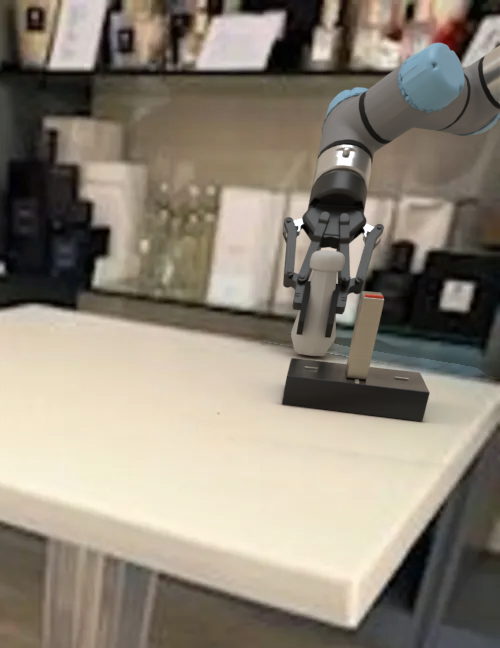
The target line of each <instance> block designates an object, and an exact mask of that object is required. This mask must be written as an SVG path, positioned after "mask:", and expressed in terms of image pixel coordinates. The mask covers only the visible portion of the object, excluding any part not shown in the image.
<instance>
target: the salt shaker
mask: <svg viewBox="0 0 500 648" xmlns="http://www.w3.org/2000/svg"><path fill="white" fill-rule="evenodd" d="M344 263H345V257H344V255H343V254H342V253H340V252H336V250H330V249H329V250H328V249H324V250H322V249H321V250H320V251H315V252H314V253H313V254H312V256H311V259H310V268H312V269H313V270H312V273H311V275H310V278H309V281H311V284H310V285H311V288H310V294H309V300H308V305H307V311H306V316H305V322H304V327H303V333H302V335H297V334H296V333H297V327H298V321H299V316H300V310H298V312H297V314H296V318H295V320H294V323H293V326H292V329H291V333H290V337H291V341H292V346H293V350H294V352H295V353H297V354H299V355H304V356H311V357H324V356H325V355H326V353H327V352H328V351H329V349H330V348H331V346H333V344H334V343H335V341H336V338H337V337H336V336H337V333H336V332H337V314H335V319H334V325H333V329H332V334H331V338H326V337H325V332H326V327H327V322H328V316H329V311H330V305H331V300H332V295H333V291H334V290H335V288H336V284H337V282H338V278H337V272H338V271H341V270H342V269H343V267H344Z"/></svg>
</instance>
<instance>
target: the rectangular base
mask: <svg viewBox="0 0 500 648" xmlns="http://www.w3.org/2000/svg"><path fill="white" fill-rule="evenodd" d="M346 365H347V363H340V362H332V361H321V360H313V359H305V358H304V359H303V358H295V357H291V358H290V361H289V365H288V369H287V374H286V378H285V383H284V388H283V395H282V400H281V404H282V405H284V406H285V405H286V406H293V407H301V408H309V409H317V410H324V411H325V410H326V411H333V412H341V413H350V414H357V415H365V416H374V417H380V418H381V417H382V418H388V419H389V418H390V419H396V420H398V419H399V420H406V421H412V422H423V420H424V417H425V413H426V410H427V409H426V408H427V405H428V402H429V397H430V393H431V392H430V390H429V388H428V386H427V384H426V382H425V380H424V378H423V375H422V374H421V372H418V371H410V370H401V369H394V368H393V369H392V368H384V367H374V366H370V367H369V372H368V376H367V380H361V379H353V378H347V372H346Z"/></svg>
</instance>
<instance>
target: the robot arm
mask: <svg viewBox="0 0 500 648" xmlns="http://www.w3.org/2000/svg"><path fill="white" fill-rule="evenodd" d="M499 120H500V44H499V45H498V46H496V47H495V48H493V49H492V50H491V51H489V52H488V53H486V54H485V55H483V56H481V57H480V58H478V60H476V61H474V62H472V63H471V64H470V65H468V66H467V67H463V65H462V63H461V61H460V58H459V57H458V55H457V54H456V52H455V51H454V50H453V49H452V50H451V49H450V47H449V45H447V44H445V43H443V42H434V43H432V44H429V45H428V46H425V48H423V49H421V50H420V51H418V52H416V53H414V54H412V55H411V56H409V57H407V59H406V60H404V62H403V63H402V64H400V65H399V66H397V67H396V68H395V69H394V70H392V71H391V72H390V73H387V74H386V75H385V76H384V77H383V78H382V79H380V80H378V82H376V83H375V84H374V85H372V86H371V87H369V88H366V87H360V86H357V87H353V88H351V89H344V90H342V91H340V92H339V93H337V95H335V96H334V98H333V99H332V100H331V102H330V103H329V105H328V107H327V111H326V114H325V117H324V120H323V122H322V126H321V138H320V142H319V147H318V148H319V149H318V153H317V160H316V164H315V169H314V174H313V180H312V186H311V189H310V195H309V200H308V206H307V209H306V211H305V212H304V213H303V215H302V217H301V218H297V219H293V217H290V216H287V217H285V218H284V220H283V228H282V236H283V240H284V242H285V253H284V254H285V255H284V268H283V279H282V286H283V287H284V288H287V289H288V288H292V289H294V294H293V300H292V310H295V311H299V310H300V316H299V321H298V327H297V333H296V334H297V335H302V333H303V327H304V322H305V316H306V311H307V305H308V300H309V294H310V288H311V285H310V284H311V281H310V278H311V276H312V273H313V269H312V268H310V259H311V256H312V254H313V253H314V252H315V251H320V250H322V249H327V248H329V249H330V248H331V249H333V250H335V251H336V252H340V253H342V254H343V255H344V257H345V263H344V267H343V269H342V270H341V271H338V272H337V283H336V288H335V290H334V291H333V295H332V300H331V305H330V311H329V316H328V322H327V327H326V332H325V337H326V338H331V334H332V329H333V325H334V319H335V314H336V315H343V314H344V313H345V310H346V307H347V301H348V296H349V295H350V294H354V295H361V293H362V291H363V288H364V284H365V281H366V278H367V273H368V270H369V266H370V262H371V259H372V256H373V252H374V250H375V249H376V248H377V247H378V245H379V244H380V243H381V240H382V237H383V233H384V229H385V226H384V225H383V224H382V223H377V224H376V225H372V224H370V223H367V217H366V215H365V210H366V203H367V197H368V190H369V186H370V185H369V184H370V180H371V179H370V178H371V172H372V166H373V161H374V155H375V153H376V152H377V151H378V150H380V149H381V148H383V147H385V146H386V145H388V144H390V143H392V142H393V141H394V140H396V139H397V138H399V137H400V136H402V135H404V134H405V133H407V132H408V131H410V130H411V129H414V128H416V129H421V130H428V131H435V132H441V133H445V134H446V133H447V134H452V135H453V136H454V135H456V136H460V137H467V136H476V135H481V134H484V133H486V132H487V131H489V130H491V129H492V128H493V127H494V126H496V124H497V122H498V121H499ZM301 230H303V231H304V233H305V234H306V236H307V237H308V238H309V240H310V243H309V245H308V249H307V251H306V254H305V256H304V259H303V262H302V264H301V267H300V269H299V272H298V273H296V272H295V264H296V252H297V251H296V250H297V239H298V237H299V236H300V234H301ZM360 235H362V236H363V237H362V240H363V243H364V244H363V245H364V246H363V250H362V253H361V255H360V256H361V257H360V259H359V264H358V267H357V270H356V274H355V277H353V278H352V276H351V265H350V263H351V261H350V259H351V258H350V244H352V242H353V241H354V240H356V239H357V238H358V237H359V236H360Z"/></svg>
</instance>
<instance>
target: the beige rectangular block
mask: <svg viewBox="0 0 500 648" xmlns="http://www.w3.org/2000/svg"><path fill="white" fill-rule="evenodd" d="M384 303H385V298H384V295H383V293H382V292H378V291H377V292H376V291H366V290H362V292H361V293H360V298H359V303H358V308H357V312H356V317H355V322H354V326H353V331H352V337H351V342H350V346H349V351H348V355H347V360H346V364H347V365H346V372H347V378H353V379H361V380H367V376H368V372H369V367H371V362H372V358H373V357H372V356H373V353H374V349H375V344H376V339H377V335H378V330H379V326H380V322H381V317H382V312H383V308H384Z"/></svg>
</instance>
